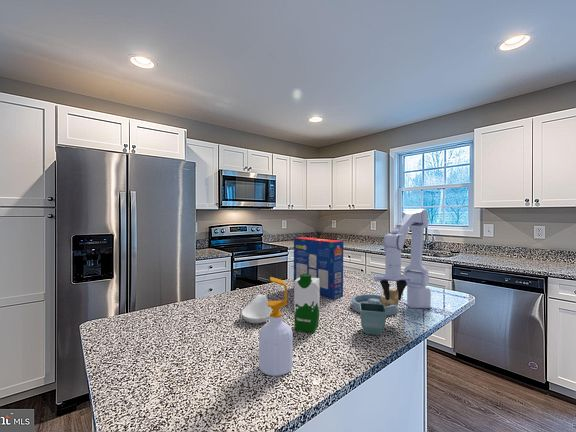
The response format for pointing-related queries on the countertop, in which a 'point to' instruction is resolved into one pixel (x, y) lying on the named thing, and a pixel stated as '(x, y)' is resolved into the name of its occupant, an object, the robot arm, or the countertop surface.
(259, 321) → the spoon rest
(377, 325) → the flower pot
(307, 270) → the pasta box
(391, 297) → the bead
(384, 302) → the bead
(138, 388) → the countertop surface
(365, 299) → the ring tray
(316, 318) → the milk carton
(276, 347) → the soap bottle
